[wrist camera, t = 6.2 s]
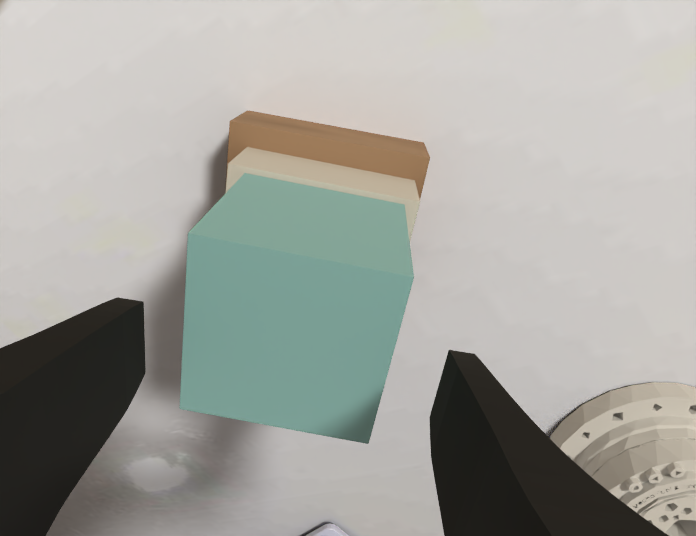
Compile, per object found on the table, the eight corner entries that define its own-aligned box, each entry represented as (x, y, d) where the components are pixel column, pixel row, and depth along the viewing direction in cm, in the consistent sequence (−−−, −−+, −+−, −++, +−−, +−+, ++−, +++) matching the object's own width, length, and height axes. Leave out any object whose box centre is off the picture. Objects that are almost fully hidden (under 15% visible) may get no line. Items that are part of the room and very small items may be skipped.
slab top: (378, 322, 20) (378, 359, 18) (232, 294, 20) (213, 327, 18) (414, 180, 18) (419, 201, 16) (247, 146, 18) (228, 163, 15)
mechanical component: (506, 428, 26) (581, 543, 29) (530, 500, 22) (613, 624, 25) (706, 345, 23) (763, 482, 27) (774, 410, 19) (832, 561, 23)
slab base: (388, 292, 23) (389, 327, 20) (237, 266, 23) (218, 297, 20) (422, 140, 20) (429, 157, 17) (250, 109, 20) (230, 121, 17)
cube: (371, 337, 18) (368, 443, 13) (231, 310, 18) (179, 408, 13) (404, 204, 16) (413, 277, 11) (244, 173, 15) (187, 233, 11)
